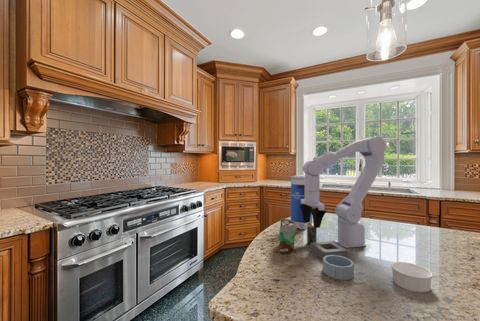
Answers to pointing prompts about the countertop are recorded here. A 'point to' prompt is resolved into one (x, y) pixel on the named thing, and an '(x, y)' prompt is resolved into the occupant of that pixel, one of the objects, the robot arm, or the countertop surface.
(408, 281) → the ramekin
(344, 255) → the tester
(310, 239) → the battery cell
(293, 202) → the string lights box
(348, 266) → the grey round bowl
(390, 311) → the countertop surface
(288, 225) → the food container
